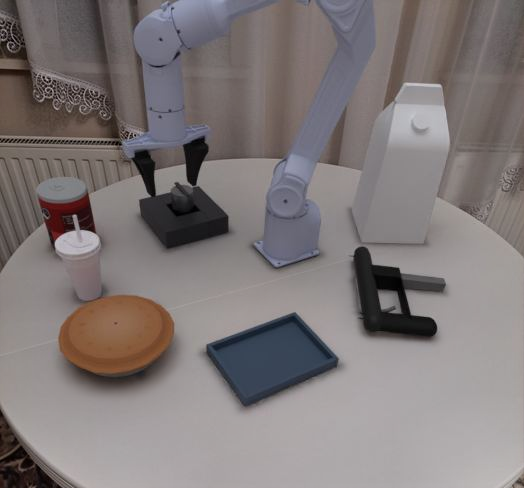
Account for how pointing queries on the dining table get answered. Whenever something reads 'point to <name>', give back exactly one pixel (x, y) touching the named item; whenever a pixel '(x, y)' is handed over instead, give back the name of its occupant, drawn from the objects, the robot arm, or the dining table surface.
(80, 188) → the canned food
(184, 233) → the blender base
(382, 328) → the door handle
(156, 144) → the robot arm
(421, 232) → the milk
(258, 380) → the tray
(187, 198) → the dark grey canister
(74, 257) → the smoothie
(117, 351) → the pie
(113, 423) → the dining table surface
